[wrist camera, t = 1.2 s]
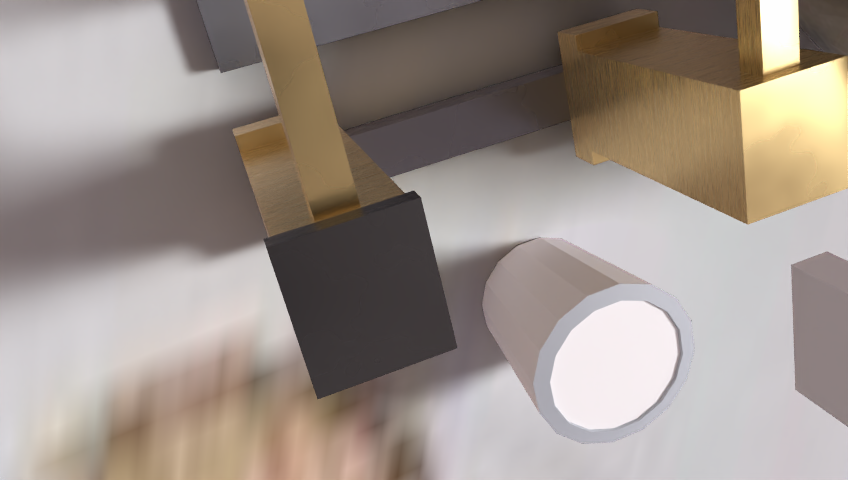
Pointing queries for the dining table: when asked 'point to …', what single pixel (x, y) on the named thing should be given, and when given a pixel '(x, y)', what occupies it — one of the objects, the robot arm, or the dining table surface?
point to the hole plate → (328, 15)
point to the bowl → (825, 24)
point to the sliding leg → (336, 223)
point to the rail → (465, 122)
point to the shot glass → (587, 339)
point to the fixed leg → (712, 107)
